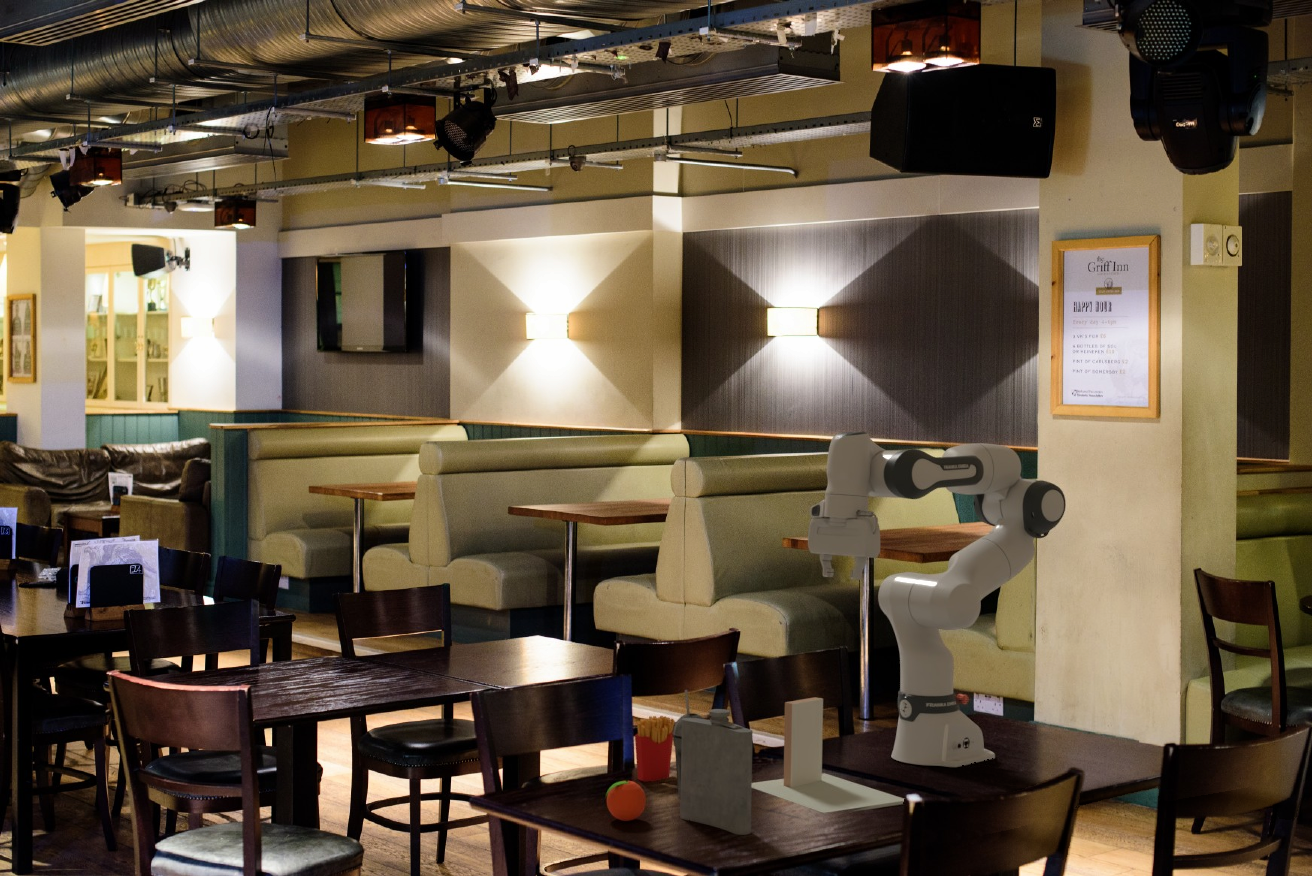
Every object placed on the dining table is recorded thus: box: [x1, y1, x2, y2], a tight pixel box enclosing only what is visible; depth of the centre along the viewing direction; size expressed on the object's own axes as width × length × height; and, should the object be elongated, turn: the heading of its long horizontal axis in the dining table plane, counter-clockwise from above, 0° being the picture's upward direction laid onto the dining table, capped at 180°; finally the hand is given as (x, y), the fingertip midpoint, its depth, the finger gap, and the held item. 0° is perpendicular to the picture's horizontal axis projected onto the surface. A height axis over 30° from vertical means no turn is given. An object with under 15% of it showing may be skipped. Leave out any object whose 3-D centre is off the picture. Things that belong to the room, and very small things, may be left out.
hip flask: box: [679, 708, 753, 836], centre depth 268 cm, size 16×4×20 cm, turn 43°
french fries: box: [634, 715, 676, 782], centre depth 302 cm, size 8×4×12 cm, turn 126°
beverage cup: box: [672, 689, 705, 799], centre depth 288 cm, size 7×7×20 cm
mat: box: [752, 772, 905, 814], centre depth 291 cm, size 20×25×1 cm
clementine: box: [604, 779, 647, 822], centre depth 270 cm, size 8×7×7 cm
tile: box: [783, 696, 824, 787], centre depth 298 cm, size 2×9×16 cm, turn 134°
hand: (841, 578), depth 311 cm, fingers open, 8 cm apart
